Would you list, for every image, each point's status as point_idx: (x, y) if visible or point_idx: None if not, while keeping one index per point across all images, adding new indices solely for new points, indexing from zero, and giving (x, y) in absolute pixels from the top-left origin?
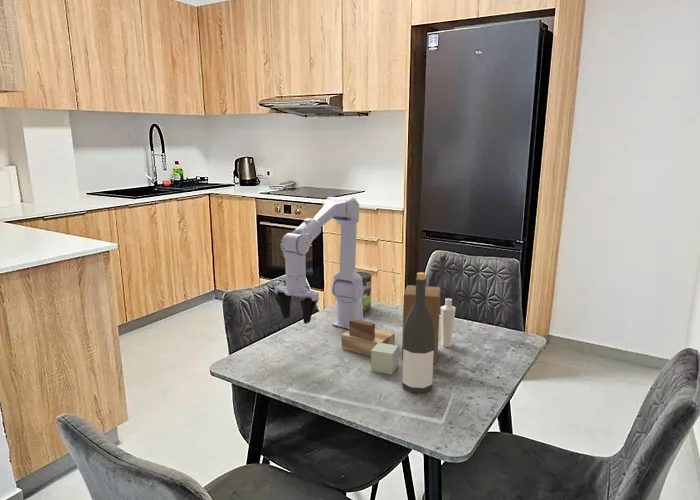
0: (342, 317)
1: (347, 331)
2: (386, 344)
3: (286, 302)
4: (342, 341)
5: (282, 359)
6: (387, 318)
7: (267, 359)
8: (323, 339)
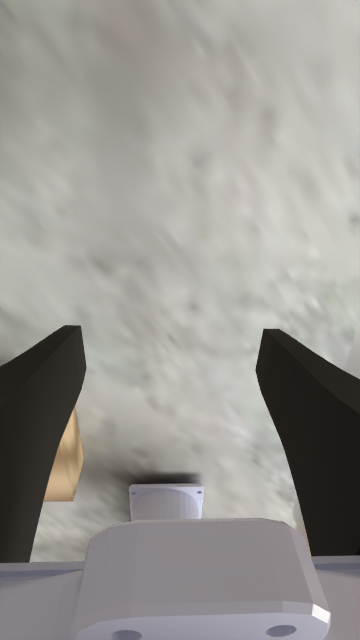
0: (164, 518)
1: (59, 450)
2: None
3: (311, 448)
4: None
5: (196, 187)
6: None
7: (258, 147)
8: (168, 405)
